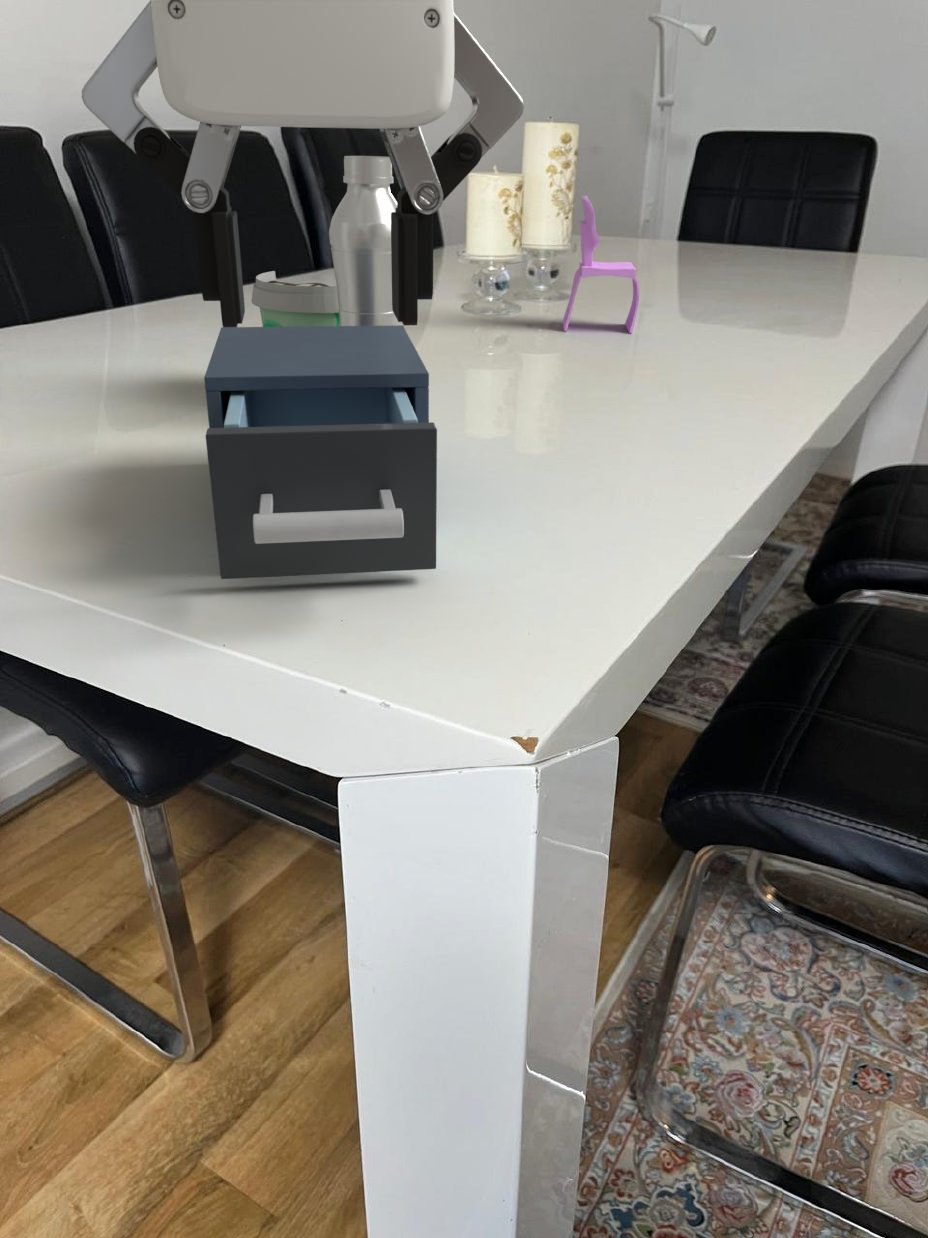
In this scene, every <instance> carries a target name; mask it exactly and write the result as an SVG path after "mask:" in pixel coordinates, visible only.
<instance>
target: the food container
mask: <svg viewBox="0 0 928 1238" xmlns="http://www.w3.org/2000/svg"><path fill="white" fill-rule="evenodd" d="M251 304H252V305H254V306H256V307H257V308H259V313H260V319H261V324H262V327H305V326H339V309H338V308H339V302H338V297H337V285H328V284H325V283H321V282H306V283H289V282H284V281H283V282H282V281H277V277H276V271H275V270H272V271H267V272H262V273H259V274H258V275H256V276H255V282H254V283H253V285H252V292H251Z"/></svg>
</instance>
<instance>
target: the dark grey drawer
mask: <svg viewBox="0 0 928 1238" xmlns="http://www.w3.org/2000/svg"><path fill="white" fill-rule="evenodd" d="M437 428H438V427H436V425H435V422H432V421H431V422H430V421H429V423H418V420H417V418H416V415H415V413H414V411H413V408H412V406H411V403H410V401H409V399H408V396H407V394H406V391H405V389H404V387H396V388H347V389H297V390H247V391H231V395H230V400H229V404H228V409H227V413H226V418H225V422H224V428H209V427H208V428H206V432H205V444H206V453H207V463H208V464H207V465H208V473H209V482H210V490H211V491H210V492H211V501H212V508H213V517H214V519H213V520H214V528H215V537H216V546H217V556H218V564H219V565H218V566H219V573H220V579H221V580H233V579H234V580H235V579H237V580H238V579H254V578H275V577H297V576H298V577H299V576H317V575H338V574H356V573H358V574H359V573H380V572H401V571H417V570H419V571H421V570H436V569H437V516H438V515H437V511H438V510H437V509H438V508H437V507H438V505H437V502H438V501H437V500H438V499H437V497H438V495H437V494H438V492H437V491H438V488H437V487H438V484H437V483H438V482H437V481H438V429H437Z"/></svg>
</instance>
